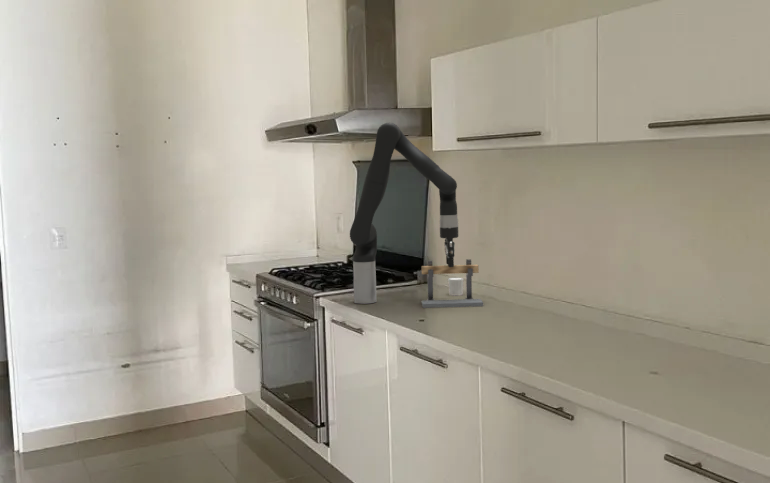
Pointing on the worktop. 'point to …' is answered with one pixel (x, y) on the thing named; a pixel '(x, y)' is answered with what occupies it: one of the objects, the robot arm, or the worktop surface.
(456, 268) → the oak rail
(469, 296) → the charcoal rack
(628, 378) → the worktop surface
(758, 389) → the worktop surface
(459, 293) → the beige white-topped cylinder
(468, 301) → the slate mat
